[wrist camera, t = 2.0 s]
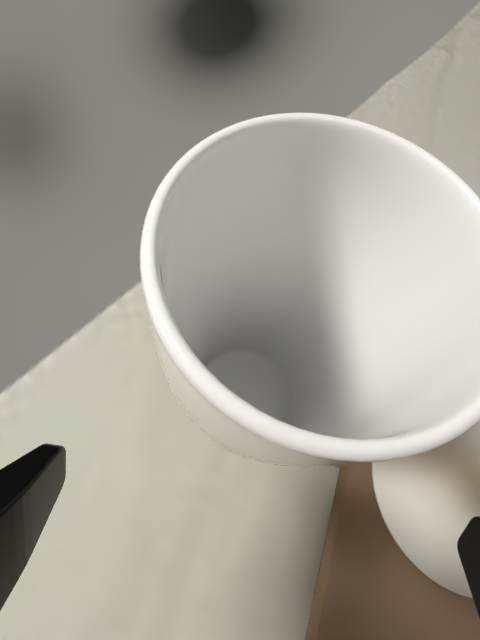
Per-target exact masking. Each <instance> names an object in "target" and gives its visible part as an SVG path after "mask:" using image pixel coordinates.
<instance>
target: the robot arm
mask: <svg viewBox="0 0 480 640" xmlns="http://www.w3.org/2000/svg"><path fill="white" fill-rule="evenodd" d="M65 474H66V451H65V448H64V447H63V446H59V445H53V444H43V445H41V446H39V447H37V448H35V449H34V450H32V451H31V452H29V453H27V454H26V455H24V456H22V457H21V458H19V459H17V460H16V461H14V462H12V463H11V464H9V465H7V466H6V467H4V468H2V469H1V470H0V610H1V609H2V607H3V605H4V603H5V602H6V600H7V598H8V597H9V595H10V593H11V591H12V590H13V588H14V586H15V584H16V583H17V581H18V579H19V577H20V576H21V574H22V572H23V570H24V568H25V566H26V565H27V562H28V560H29V558H30V556H31V554H32V552H33V550H34V548H35V546H36V543H37V541H38V539H39V537H40V535H41V532H42V530H43V528H44V526H45V524H46V522H47V519H48V517H49V515H50V513H51V511H52V509H53V506H54V504H55V502H56V500H57V498H58V495H59V493H60V491H61V489H62V487H63V484H64V481H65ZM457 550H458V554H459V557H460V560H461V563H462V566H463V569H464V572H465V576H466V579H467V582H468V585H469V588H470V591H471V594H472V597H473V600H474V603H475V607H476V610H477V613H478V616H479V619H480V516H475V517H473V518H472V519H471V520H470V521H469V523H468V525H467V526H466V528H465V529H464V531H463V532H462V534H461V535H460V537H459V539H458V542H457Z"/></svg>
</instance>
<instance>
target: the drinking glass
mask: <svg viewBox="0 0 480 640" xmlns="http://www.w3.org/2000/svg"><path fill="white" fill-rule="evenodd" d="M140 274H141V281H142V288H143V293H144V297H145V302H146V308H147V314H148V320H149V325H150V329H151V333H152V337H153V341H154V345H155V349H156V353H157V356H158V359H159V362H160V365H161V367H162V370H163V373H164V375H165V378H166V380H167V382H168V384H169V386H170V388H171V390H172V392H173V394H174V396H175V398H176V400H177V401H178V403H179V404H180V406H181V407H182V409H183V410H184V412H185V413H186V414H187V416H188V417H189V418H190V419H191V421H192V422H193V423H194V424H195V425H196V426H197V427H198V428H199V429H200V430H201V431H202V432H203V434H204V435H205V436H206V437H207V438H209V439H210V440H211V441H213V442H214V443H216V444H218V445H220V446H222V447H224V448H226V449H228V450H230V451H232V452H234V453H236V454H239V455H241V456H243V457H246V458H249V459H253V460H256V461H259V462H263V463H269V464H274V465H279V466H291V467H306V468H312V467H338V466H348V465H356V464H363V463H370V462H383V461H390V460H397V459H404V458H407V457H411V456H415V455H419V454H422V453H426V452H428V451H431V450H433V449H435V448H438V447H440V446H443V445H445V444H447V443H449V442H450V441H452V440H454V439H456V438H458V437H459V436H461V435H463V434H464V433H465V432H467V431H468V430H469V429H471V428H472V427H473V426H475V425H476V424H477V423H479V422H480V198H479V196H478V195H477V194H476V193H475V192H474V191H473V190H472V189H471V188H470V187H469V185H468V184H467V183H466V182H465V181H464V180H462V179H461V178H460V177H459V176H458V175H457V174H456V173H455V172H454V171H453V170H451V169H450V168H449V167H448V166H446V165H445V164H444V163H443V162H441V161H440V160H439V159H437V158H436V157H434V156H433V155H432V154H430V153H429V152H427V151H425V150H424V149H422V148H421V147H419V146H417V145H416V144H414V143H412V142H410V141H408V140H406V139H405V138H403V137H401V136H398V135H396V134H394V133H392V132H390V131H387V130H385V129H382V128H379V127H377V126H374V125H371V124H368V123H365V122H361V121H358V120H354V119H350V118H345V117H341V116H334V115H328V114H318V113H281V114H273V115H266V116H261V117H256V118H252V119H249V120H245V121H242V122H239V123H236V124H234V125H231V126H229V127H226V128H224V129H222V130H220V131H218V132H216V133H214V134H212V135H210V136H209V137H207V138H206V139H204V140H202V141H201V142H199V143H198V144H197V145H195V146H194V147H193V148H192V149H190V150H189V151H188V152H187V153H186V154H185V155H183V157H181V158H180V159H179V160H178V161H177V162H176V163H175V165H174V166H173V167H172V168H171V170H170V171H169V172H168V173H167V174H166V176H165V177H164V179H163V181H162V182H161V184H160V185H159V187H158V189H157V191H156V193H155V195H154V197H153V199H152V201H151V203H150V206H149V209H148V212H147V215H146V218H145V222H144V226H143V231H142V235H141V246H140Z"/></svg>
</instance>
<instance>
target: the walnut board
mask: <svg viewBox="0 0 480 640" xmlns="http://www.w3.org/2000/svg"><path fill="white" fill-rule="evenodd" d="M475 516H480V422H479V423H477V424H476V425H475V426H473V427H472V428H471V429H469V430H468V431H467V432H465V433H464V434H463V435H461V436H459V437H458V438H456V439H454V440H452V441H450V442H449V443H447V444H445V445H443V446H440V447H438V448H435V449H433V450H431V451H428V452H426V453H422V454H419V455H415V456H411V457H407V458H404V459H397V460H390V461H383V462H370V463H363V464H356V465H348V466H340V471H339V476H338V481H337V486H336V491H335V496H334V501H333V506H332V510H331V515H330V520H329V525H328V530H327V535H326V540H325V545H324V550H323V555H322V560H321V565H320V570H319V575H318V579H317V584H316V589H315V594H314V599H313V604H312V609H311V614H310V619H309V624H308V629H307V634H306V639H305V640H480V619H479V616H478V613H477V610H476V607H475V603H474V600H473V597H472V594H471V591H470V588H469V585H468V582H467V579H466V576H465V572H464V569H463V566H462V563H461V560H460V557H459V554H458V550H457V542H458V539H459V537H460V535H461V534H462V532H463V531H464V529H465V528H466V526H467V525H468V523H469V521H470V520H471V519H472V518H473V517H475Z"/></svg>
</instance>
